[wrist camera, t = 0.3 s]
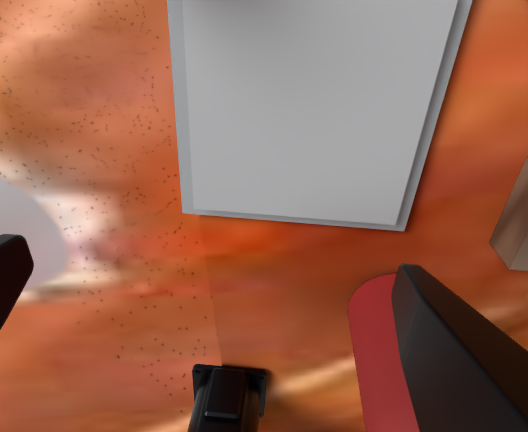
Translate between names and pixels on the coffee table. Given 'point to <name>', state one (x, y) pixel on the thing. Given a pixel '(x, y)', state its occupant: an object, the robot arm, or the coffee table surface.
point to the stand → (309, 105)
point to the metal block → (514, 226)
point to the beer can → (379, 359)
